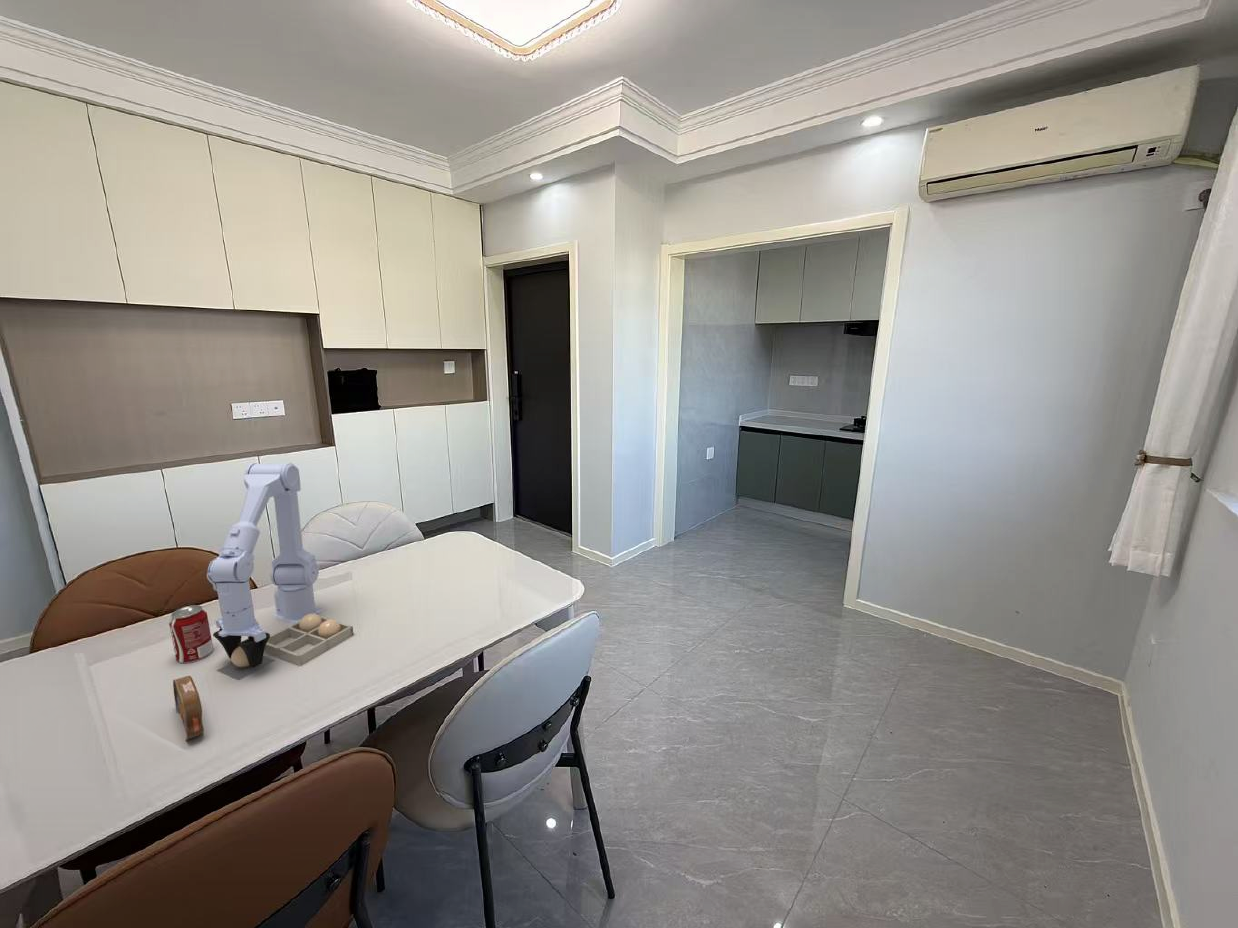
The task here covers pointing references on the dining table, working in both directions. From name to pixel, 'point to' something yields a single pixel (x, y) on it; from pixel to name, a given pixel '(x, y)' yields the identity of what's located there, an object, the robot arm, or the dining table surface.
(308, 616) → the seated egg
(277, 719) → the dining table surface
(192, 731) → the tin
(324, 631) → the seated egg
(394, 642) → the dining table surface
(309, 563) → the robot arm
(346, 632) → the egg tray
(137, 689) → the dining table surface
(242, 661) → the loose egg
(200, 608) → the soda can
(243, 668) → the slate coaster
